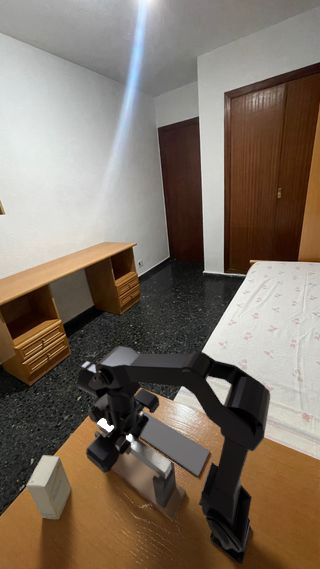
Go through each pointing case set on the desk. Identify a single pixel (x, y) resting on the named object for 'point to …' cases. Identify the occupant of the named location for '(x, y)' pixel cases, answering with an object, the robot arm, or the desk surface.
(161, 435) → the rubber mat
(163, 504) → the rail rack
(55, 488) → the skincare box
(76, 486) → the desk surface
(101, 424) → the steel rail
